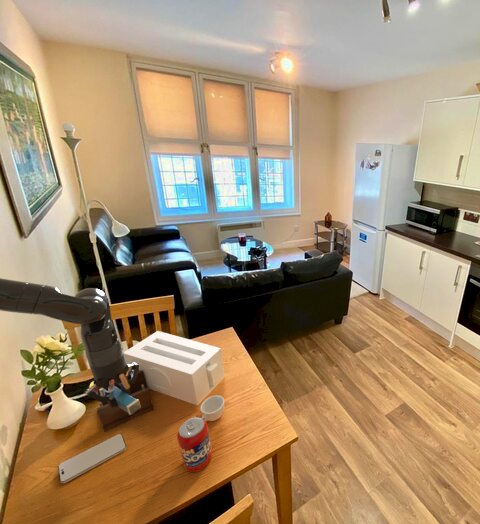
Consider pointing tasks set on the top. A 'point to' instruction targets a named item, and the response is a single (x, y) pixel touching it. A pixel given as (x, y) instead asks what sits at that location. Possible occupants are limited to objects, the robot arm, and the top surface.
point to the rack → (119, 416)
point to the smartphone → (91, 458)
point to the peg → (124, 401)
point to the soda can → (195, 444)
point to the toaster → (178, 366)
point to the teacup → (212, 408)
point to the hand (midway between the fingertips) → (120, 401)
